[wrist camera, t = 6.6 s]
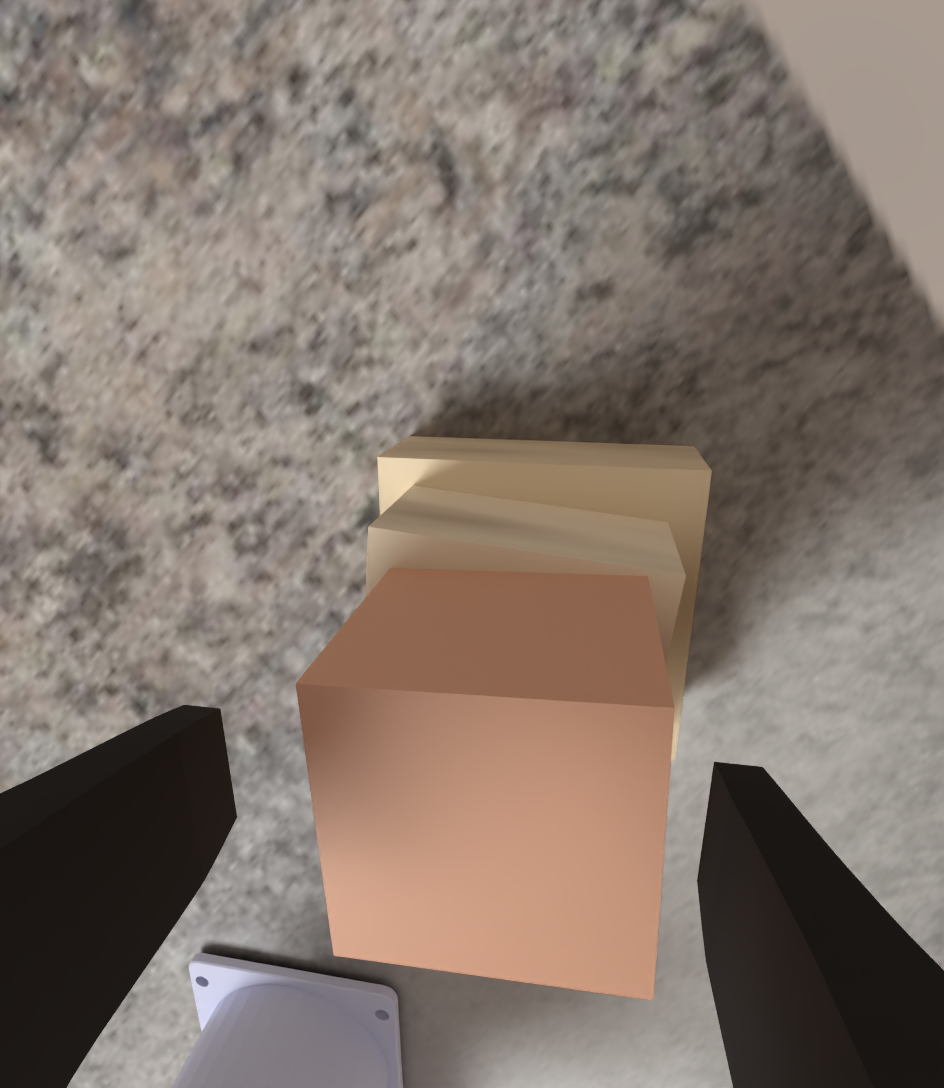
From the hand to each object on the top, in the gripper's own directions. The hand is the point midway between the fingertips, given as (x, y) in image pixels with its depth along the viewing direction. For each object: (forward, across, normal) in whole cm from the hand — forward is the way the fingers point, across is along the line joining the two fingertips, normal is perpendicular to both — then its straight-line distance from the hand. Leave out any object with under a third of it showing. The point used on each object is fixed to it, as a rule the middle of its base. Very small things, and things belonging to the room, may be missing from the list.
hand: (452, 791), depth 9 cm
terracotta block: (+3, -1, 0) cm, 3 cm away
